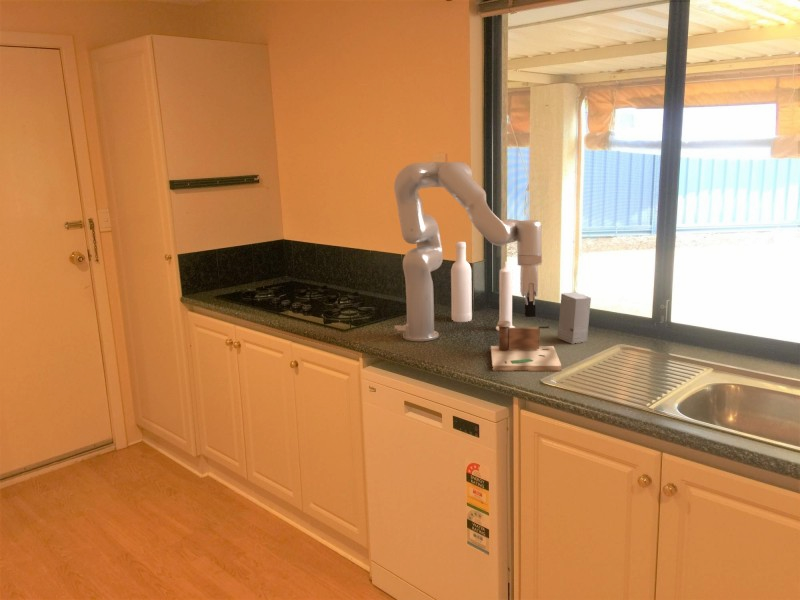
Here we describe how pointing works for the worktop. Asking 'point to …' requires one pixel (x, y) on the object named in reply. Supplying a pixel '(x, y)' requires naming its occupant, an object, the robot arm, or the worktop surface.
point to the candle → (505, 295)
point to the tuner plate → (526, 359)
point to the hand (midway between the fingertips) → (530, 316)
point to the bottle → (461, 286)
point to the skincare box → (574, 317)
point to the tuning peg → (518, 337)
